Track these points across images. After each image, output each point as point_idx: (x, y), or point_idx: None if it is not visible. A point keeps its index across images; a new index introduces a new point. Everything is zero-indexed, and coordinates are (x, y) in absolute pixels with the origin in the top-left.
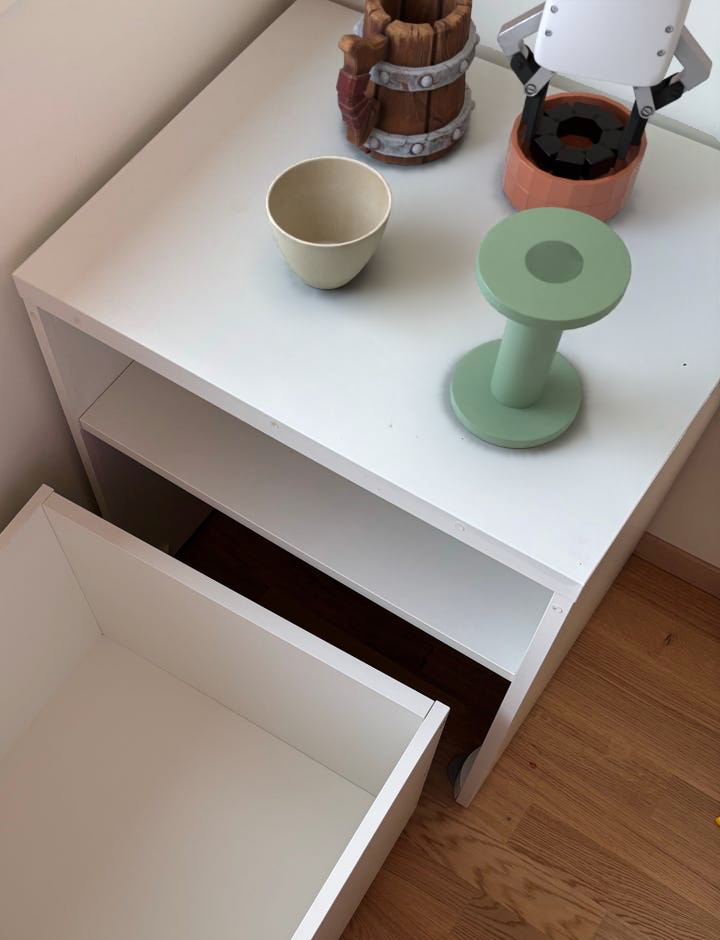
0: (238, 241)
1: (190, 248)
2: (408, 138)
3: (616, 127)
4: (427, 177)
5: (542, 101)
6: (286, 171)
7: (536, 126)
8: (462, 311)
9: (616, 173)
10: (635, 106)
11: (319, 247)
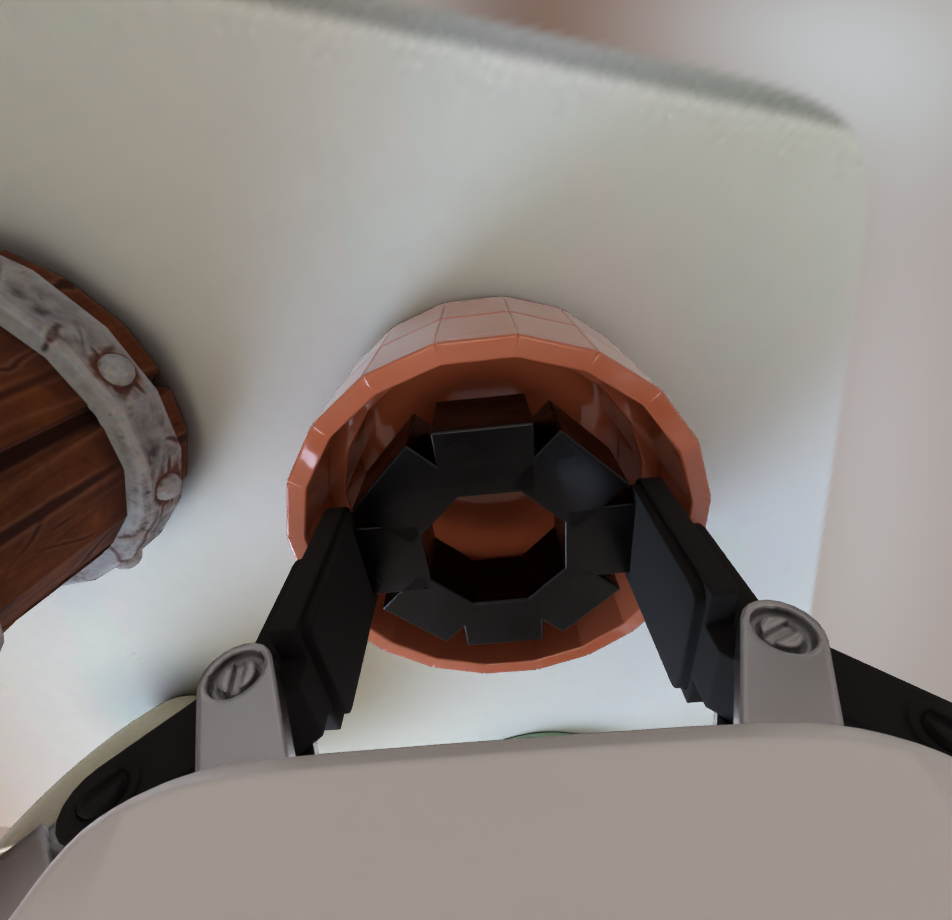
0: (55, 724)
1: (13, 748)
2: (85, 574)
3: (606, 501)
4: (203, 529)
5: (347, 691)
6: None
7: (368, 602)
8: (430, 717)
9: (604, 392)
10: (693, 647)
11: None
